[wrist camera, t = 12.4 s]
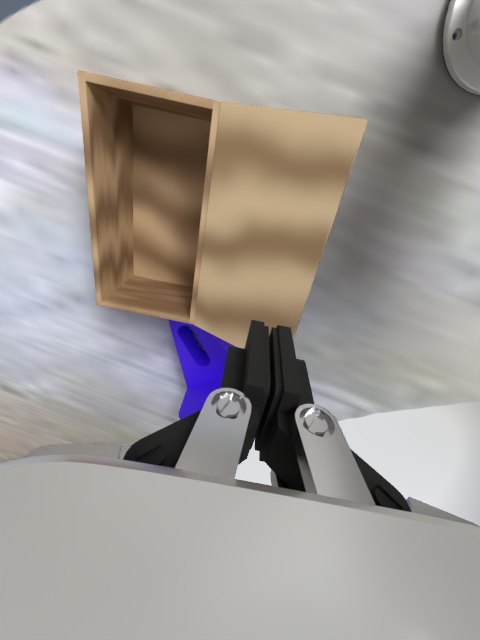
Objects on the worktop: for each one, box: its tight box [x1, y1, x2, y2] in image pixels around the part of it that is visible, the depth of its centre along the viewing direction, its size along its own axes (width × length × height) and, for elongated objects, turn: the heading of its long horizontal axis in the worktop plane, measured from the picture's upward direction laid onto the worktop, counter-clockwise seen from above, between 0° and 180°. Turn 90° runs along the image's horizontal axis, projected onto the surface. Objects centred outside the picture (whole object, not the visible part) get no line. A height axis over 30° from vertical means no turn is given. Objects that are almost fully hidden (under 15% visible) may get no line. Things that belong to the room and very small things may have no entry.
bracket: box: [169, 320, 236, 419], centre depth 42 cm, size 18×11×12 cm, turn 24°
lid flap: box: [194, 102, 368, 349], centre depth 26 cm, size 22×12×1 cm, turn 169°
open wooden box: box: [78, 70, 220, 324], centre depth 32 cm, size 22×12×10 cm, turn 169°
